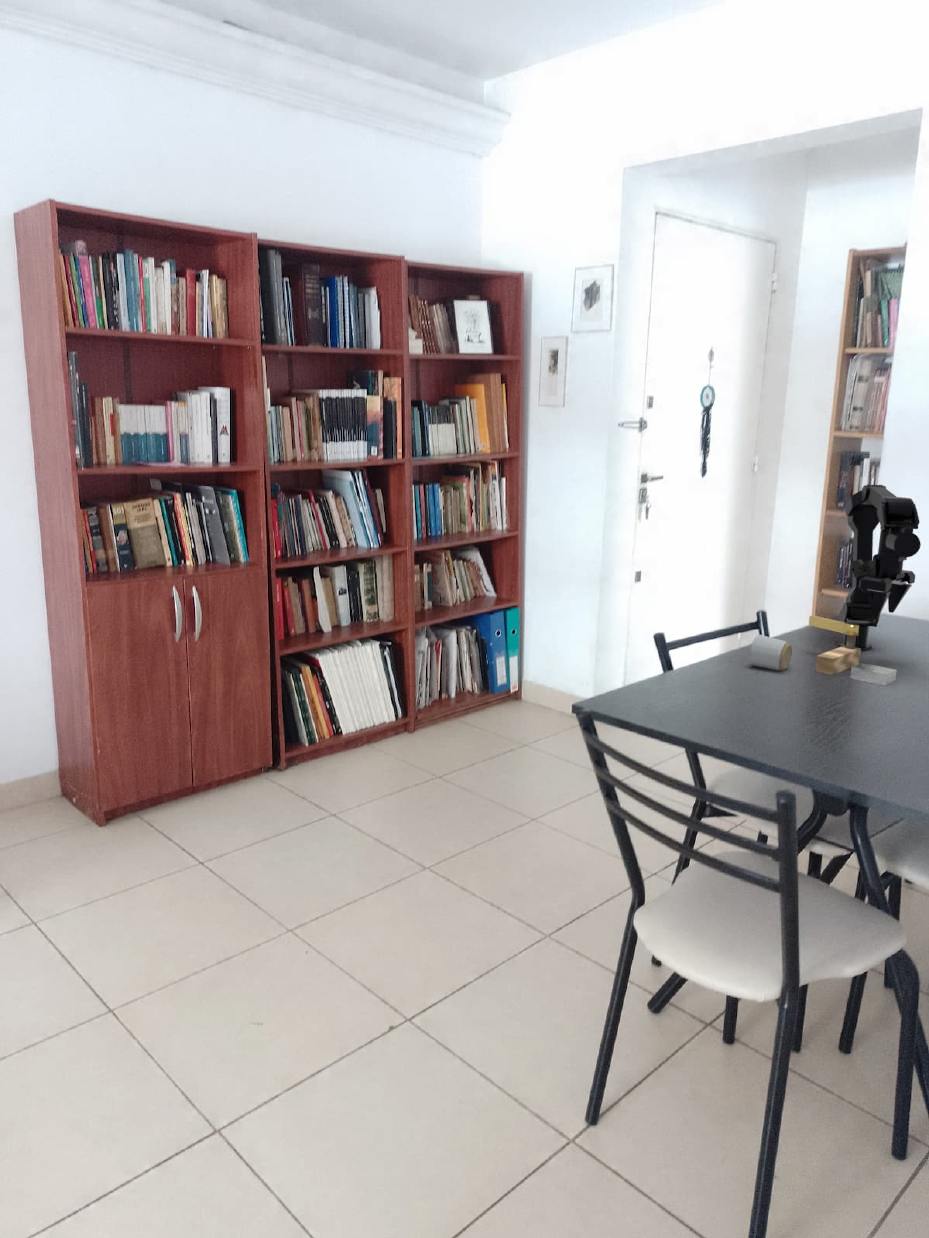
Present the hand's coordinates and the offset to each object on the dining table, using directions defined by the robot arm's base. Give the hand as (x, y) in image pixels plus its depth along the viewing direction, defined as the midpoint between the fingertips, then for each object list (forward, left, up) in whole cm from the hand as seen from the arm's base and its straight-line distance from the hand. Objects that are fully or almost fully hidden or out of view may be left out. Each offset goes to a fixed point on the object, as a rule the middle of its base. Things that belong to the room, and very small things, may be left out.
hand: (883, 615), depth 221 cm
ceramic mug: (+20, -17, -13) cm, 30 cm away
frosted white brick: (+12, +4, -13) cm, 18 cm away
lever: (+2, -11, -6) cm, 13 cm away
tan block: (+9, -6, -13) cm, 17 cm away
